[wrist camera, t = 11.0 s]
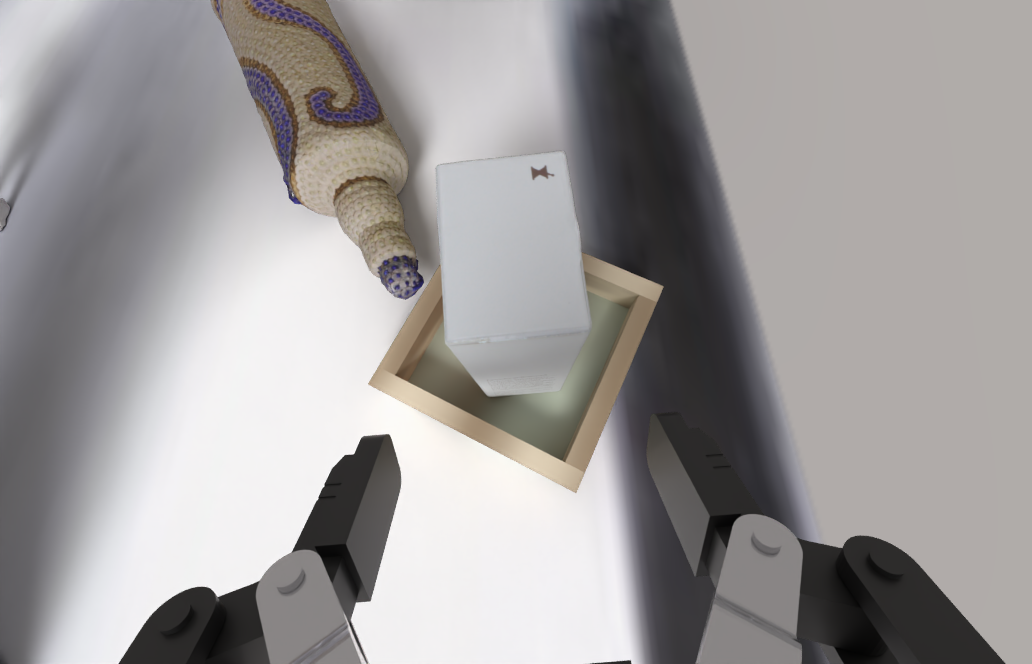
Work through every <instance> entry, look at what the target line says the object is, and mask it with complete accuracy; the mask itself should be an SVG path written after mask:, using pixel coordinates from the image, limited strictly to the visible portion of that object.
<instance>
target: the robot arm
mask: <svg viewBox="0 0 1032 664" xmlns="http://www.w3.org/2000/svg"><path fill="white" fill-rule="evenodd" d="M647 462H648V466H649V470H650V473H651V475H652V477H653V480H654V482H655V484H656V487H657V489H658V491H659V493H660V496H661V498H662V500H663V503H664V505H665V507H666V510H667V512H668V514H669V517H670V519H671V521H672V524H673V526H674V528H675V531H676V533H677V535H678V538H679V540H680V542H681V545H682V547H683V549H684V552H685V554H686V556H687V559H688V561H689V563H690V565H691V568H692V570H693V572H694V575H695V577H699V576H710V577H711V579H712V582H713V584H714V586H715V591H714V594H713V598H712V602H711V606H710V610H709V614H708V618H707V622H706V626H705V630H704V634H703V637H702V641H701V645H700V649H699V653H698V657H697V661H696V664H801V661H802V647H801V643H800V641H798V640H797V638H796V637H800V638H803V639H807V640H811V641H814V642H818V643H819V645H820V646H821V648H822V650H823V652H824V654H825V655H826V657H827V659H828V661H829V662H830V664H1005V663H1004V662H1003V661H1002V659H1001V658H1000V657H999V656H998V655H997V653H996V652H995V651H994V650H993V649H992V648H991V647H990V645H989V644H988V643H987V642H986V641H985V640H984V639H983V638H982V636H981V635H980V634H979V633H978V632H977V631H976V630H975V629H974V627H973V626H972V625H971V624H970V623H969V622H968V620H967V619H966V618H965V617H964V616H963V615H962V614H961V612H960V611H959V610H958V609H957V608H956V607H955V606H954V605H953V603H952V602H951V601H950V600H949V599H948V598H947V597H946V595H945V594H944V593H943V592H942V591H941V590H940V589H939V588H938V586H937V585H936V584H935V583H934V582H933V581H932V579H931V578H930V577H929V576H928V575H927V574H926V573H925V572H924V570H923V569H922V568H921V567H920V566H919V565H918V564H917V563H916V562H915V561H914V560H913V559H912V558H911V557H910V556H909V555H907V554H906V553H905V552H903V551H902V550H901V549H899V548H897V547H896V546H894V545H892V544H890V543H888V542H886V541H883V540H881V539H877V538H874V537H869V536H855V537H851V538H850V539H848V540H847V541H846V542H845V544H844V546H843V548H838V547H833V546H829V545H824V544H819V543H814V542H809V541H805V540H802V539H799V538H796V537H795V536H794V534H793V533H792V532H791V531H790V530H789V529H788V528H786V527H785V526H784V525H782V524H781V523H779V522H778V521H776V520H774V519H772V518H769V517H766V516H765V515H764V514H763V513H762V511H761V510H760V508H759V507H758V505H757V504H756V502H755V501H754V499H753V498H752V496H751V495H750V493H749V492H748V490H747V489H746V487H745V486H744V484H743V483H742V481H741V480H740V478H739V477H738V475H737V474H736V472H735V471H734V469H733V468H731V465H730V463H729V462H728V461H727V459H726V458H725V457H724V456H723V453H722V452H721V450H720V449H719V447H718V446H717V444H716V443H715V441H714V440H713V439H712V438H711V437H709V436H708V435H707V434H706V433H704V432H703V431H702V430H700V429H699V428H690V429H689V428H688V426H687V425H686V423H685V421H684V420H683V418H682V416H681V415H680V414H679V413H678V412H671V413H658V414H652V415H651V418H650V426H649V434H648V443H647ZM400 488H401V471H400V467H399V464H398V460H397V457H396V453H395V450H394V446H393V443H392V439H391V437H390V435H388V434H385V435H372V436H363V437H362V438H361V440H360V442H359V444H358V447H357V449H356V451H355V454H353V455H345V456H344V457H343V458H342V459H341V460H340V461H339V462H338V463H337V464H336V465H335V466H334V467H333V468H332V470H331V472H330V474H329V476H328V478H327V480H326V482H325V487H323V489H322V491H321V493H320V495H319V497H318V498H319V499H318V500H317V501H316V503H315V505H314V507H313V510H312V512H311V514H310V516H309V518H308V520H307V522H306V524H305V526H304V528H303V530H302V532H301V535H300V537H299V539H298V541H297V543H296V545H295V547H294V549H293V551H292V553H290V554H288V555H286V556H284V557H282V558H281V559H279V560H278V561H277V562H275V563H274V564H273V565H272V566H271V567H270V568H269V569H268V570H267V571H266V573H265V574H264V575H263V577H262V578H261V580H260V581H258V582H256V583H254V584H251V585H249V586H246V587H243V588H241V589H238V590H236V591H233V592H230V593H228V594H225V595H222V596H220V597H217V596H216V594H215V593H214V592H213V591H212V590H211V589H210V588H207V587H195V588H191V589H188V590H185V591H183V592H181V593H179V594H177V595H175V596H174V597H172V598H171V599H169V600H168V601H166V602H165V603H164V604H163V605H161V606H160V607H159V608H158V609H157V610H156V611H155V612H154V613H153V614H152V615H151V616H150V617H149V619H148V620H147V621H146V623H145V624H144V625H143V627H142V629H141V630H140V632H139V633H138V635H137V636H136V638H135V639H134V641H133V642H132V644H131V645H130V647H129V648H128V650H127V652H126V653H125V655H124V656H123V658H122V659H121V661H120V662H119V664H369V662H368V659H367V657H366V654H365V652H364V650H363V647H362V645H361V642H360V640H359V637H358V635H357V633H356V630H355V628H354V625H353V623H352V621H351V617H352V614H353V610H354V607H355V603H356V602H367V601H371V597H372V594H373V590H374V586H375V582H376V579H377V575H378V571H379V567H380V564H381V560H382V556H383V552H384V549H385V545H386V541H387V538H388V534H389V530H390V526H391V523H392V519H393V515H394V511H395V508H396V504H397V500H398V496H399V493H400ZM592 664H631V660H629V661H616V662H604V663H592Z"/></svg>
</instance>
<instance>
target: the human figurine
mask: <svg viewBox="0 0 1032 664" xmlns="http://www.w3.org/2000/svg"><path fill="white" fill-rule="evenodd" d="M9 210H10V207H9V205H8V204H7V203H6V201H5V200H4V199H3V198H1V199H0V230H2V229H3V227H4V226H5V224H6V223H5V221H6V217H7V216H8V214H9Z"/></svg>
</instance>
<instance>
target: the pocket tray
mask: <svg viewBox="0 0 1032 664" xmlns="http://www.w3.org/2000/svg"><path fill="white" fill-rule="evenodd" d="M582 261H583V268H584V275H585V281H586V289H587V295H588V301H589V308H590V314H591V320H592V329H591V331H590V333H589V336H588V337H587V339H586V341H585V343H584V345H583V347H582V349H581V351H580V353H579V355H578V357H577V358H576V360H575V363H574V365H573V366H572V369H571V370H570V372H569V374H568V376H567V378H566V380H565V382H564V384H563V386H562V388H561V390H560V391H556V392H545V393H534V394H522V395H509V396H498V397H488V396H487V395H486V394H485V393H484V391H483V390H482V389H481V388H480V386H479V385H478V384H477V383H476V381H475V380H474V379H473V378H472V376H471V375H470V374H469V372H468V371H467V370H466V369H465V367H464V366H463V365H462V364H461V362H460V361H459V360H458V359H457V357H456V356H455V355H454V354H453V352H452V351H451V350H450V348H449V347H448V346H447V345H446V344H445V332H444V315H443V297H442V278H441V264H440V265H439V267H438V269H437V270H436V272H435V274H434V275H433V277H432V279H431V280H430V282H429V284H428V285H427V287H426V289H425V290H424V292H423V294H422V295H421V297H420V299H419V300H418V302H417V304H416V305H415V307H414V309H413V310H412V312H411V314H410V315H409V317H408V318H407V320H406V322H405V323H404V325H403V327H402V328H401V330H400V332H399V333H398V335H397V337H396V338H395V340H394V342H393V343H392V345H391V347H390V348H389V350H388V352H387V353H386V355H385V357H384V358H383V360H382V362H381V363H380V365H379V367H378V368H377V370H376V372H375V373H374V375H373V377H372V378H371V380H370V382H369V383H368V384H369V385H370V386H372V387H374V388H376V389H378V390H380V391H382V392H384V393H386V394H388V395H390V396H391V397H393V398H395V399H397V400H399V401H401V402H403V403H405V404H407V405H409V406H411V407H412V408H414V409H416V410H418V411H420V412H422V413H424V414H426V415H428V416H430V417H432V418H433V419H435V420H437V421H439V422H441V423H443V424H445V425H447V426H449V427H451V428H453V429H455V430H456V431H458V432H460V433H462V434H464V435H466V436H468V437H470V438H472V439H474V440H476V441H477V442H479V443H481V444H483V445H485V446H487V447H489V448H491V449H493V450H495V451H497V452H498V453H500V454H502V455H504V456H506V457H508V458H510V459H512V460H514V461H516V462H518V463H520V464H521V465H523V466H525V467H527V468H529V469H531V470H533V471H535V472H537V473H539V474H541V475H542V476H544V477H546V478H548V479H550V480H552V481H554V482H556V483H558V484H560V485H562V486H563V487H565V488H567V489H569V490H571V491H573V492H575V493H576V492H577V490H578V487H579V485H580V483H581V480H582V478H583V476H584V473H585V471H586V468H587V466H588V464H589V461H590V459H591V457H592V454H593V452H594V450H595V447H596V445H597V443H598V440H599V438H600V435H601V433H602V431H603V428H604V426H605V424H606V421H607V419H608V417H609V414H610V412H611V410H612V407H613V405H614V402H615V400H616V398H617V395H618V393H619V391H620V388H621V386H622V384H623V381H624V379H625V376H626V374H627V372H628V369H629V367H630V365H631V362H632V360H633V358H634V355H635V353H636V351H637V348H638V346H639V343H640V341H641V339H642V336H643V334H644V332H645V329H646V327H647V325H648V322H649V320H650V318H651V315H652V313H653V310H654V308H655V306H656V303H657V301H658V299H659V296H660V294H661V292H662V289H663V287H664V286H661V285H659V284H656V283H654V282H652V281H649V280H647V279H645V278H642V277H640V276H637V275H635V274H633V273H630V272H628V271H626V270H623V269H621V268H618V267H616V266H614V265H611V264H609V263H607V262H604V261H602V260H599V259H597V258H595V257H592V256H590V255H588V254H585V253H583V252H582Z"/></svg>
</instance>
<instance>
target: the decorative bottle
mask: <svg viewBox="0 0 1032 664" xmlns="http://www.w3.org/2000/svg"><path fill="white" fill-rule="evenodd" d="M211 4H212V7H213V10H214V12H215V14H216V16H217V17H218V19H219V20H220V21H221V23H222V24H223V26H224V29H225V31H226V33H227V35H228V38H229V40H230V42H231V44H232V46H233V49H234V52H235V54H236V57H237V59H238V61H239V63H240V66H241V68H242V71H243V74H244V76H245V78H246V81H247V86H248V88H249V91H250V93H251V95H252V97H253V99H254V101H255V103H256V107H257V110H258V113H259V114H260V115H261V117H262V121H263V124H264V127H265V128H266V131H267V133H268V135H269V138H270V141H271V143H272V146H273V148H274V151H275V153H276V155H277V157H278V160H279V162H280V164H281V166H282V168H283V172H284V176H283V179H284V182H285V183H286V185H287V188H288V194H289V198H290V199H291V200H292V201H293V202H294V203H295V204H302V205H304V206H305V207H307V208H309V209H311V210H312V211H314V212H316V213H318V214H323V215H327V216H332V217H337V218H338V220H339V224H340V226H341V227H342V229H343V231H344V233H345V234H347V236H348V237H349V238H350V239H351V240H352V241H353V242H354V243H355V244H356V245H357V246H358V247H359V248H360V249H361V251H362V253H363V257H364V259H365V261H366V263H367V265H368V267H369V270H370V271H371V272H372V274H374V275H375V276H377V277H380V279H381V282H382V284H383V285H384V286H385V287H386V289H387V290H388V291H389V292H390V293H391V294H393V295H394V297H397V298H401V299H405V300H406V299H408V298H409V297H411V296H413V295H414V294H415V293H416V292H417V291H418V290H419V288H420V287H421V286H422V285H423V283H424V280H423V277H422V276H421V275H420V274H419V273H418V272H417V270H418V260H417V259H416V252H415V248H414V246H413V245H412V243H411V241H410V238H409V236H408V235H407V233H406V232H405V229H404V221H405V220H404V215H403V209H402V206H401V204H400V202H399V200H398V198H397V195H398V194H399V192H400V191H401V190H402V189H403V187H404V185H405V183H406V180H407V176H408V172H409V165H408V157H407V154H406V151H405V149H404V147H403V145H402V143H401V142H400V140H399V138H398V136H397V135H396V132H395V130H394V129H393V128H392V126H391V125H390V123H389V120H388V118H387V116H386V114H385V112H384V110H383V108H382V107H381V105H380V103H379V101H378V99H377V96H376V94H375V92H374V91H373V89H372V87H371V85H370V83H369V81H368V79H367V77H366V76H365V74H364V72H363V71H362V69H361V67H360V64H359V62H358V61H357V59H356V57H355V56H354V54H353V52H352V50H351V48H350V46H349V44H348V43H347V41H346V39H345V37H344V36H343V34H342V32H341V30H340V28H339V26H338V24H337V22H336V21H335V19H334V17H333V15H332V13H331V10H330V8H329V6H328V3H327V2H326V0H211ZM292 192H293V194H294V197H293V196H292Z"/></svg>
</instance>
